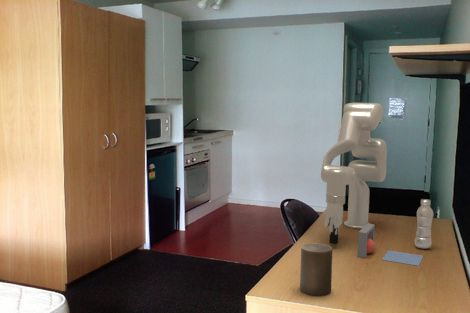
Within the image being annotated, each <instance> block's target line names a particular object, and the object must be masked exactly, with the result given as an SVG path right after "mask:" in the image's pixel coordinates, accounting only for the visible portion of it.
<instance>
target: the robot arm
mask: <svg viewBox="0 0 470 313" xmlns="http://www.w3.org/2000/svg"><path fill="white" fill-rule="evenodd" d="M383 116H384V107H383V106H382V104H380V103H377V102H349V103H346V104H344V106H343V115H342V118H341V122H340V123H341V124H340V129H339V134H338V139H337V142H336V143H335V144H333V145H332V147H330V148H329V149H328V151H326V153H325V155H324V157H323V161H322V165H321V170H320V178H321V180H322V182H324V183H326V195H325V202H326V207H325V208H326V209H325V218H324V227H325V228H329V229H328V231H329V244H331V245H338V244H339V232H340V226H342V224H344V226H345V227H347V228H352V229H360V230H361V229H362V228H363V227H364V226H365V225H366V224H372V223H370V221H369V210H370V206H369V205H370V187H369V186H368V184H367V183H366V182H374V183H375V182H376V183H382V182H384V181H385V180H386V176H387V158H388V157H387V156H388V147H387V143H386V141H385V140H384V139H382V138H372V137H371V132H373V131H374V130H376V128H377V127H378V126H379V124H380V122H381V121H382V119H383ZM348 152H351V154H352V156H353V157H355V158H357V159H356V160H351V161H350V162H349V164H348V166H342V165H334V164H333V165H332V163H333V161H334V159H335V158H337V157H339V156H340V155H343V154H345V153H348ZM358 158H360V159H358ZM361 159H363V160H361ZM364 159H370V160H364ZM372 160H373V161H372ZM346 186H348V200H347V201H348V202H347V207H348V208H347V220H345V221H344V222H343V218H344V205H345V204H346V190H347V189H346V188H347V187H346Z"/></svg>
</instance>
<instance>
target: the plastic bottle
mask: <svg viewBox="0 0 470 313" xmlns="http://www.w3.org/2000/svg"><path fill="white" fill-rule="evenodd" d="M431 203H432V202H431V199H428V198H427V199H425V198H421V199H420V206H419V207H418V209H417V211H416V220H417V221H416V223H417V225H416V226H417V227H416V233H415V238H414V244H415V247H416V248H419V249H426V250H427V249H430V248H431V247H432V223H433V218H434V211H433V209H432V208H431Z"/></svg>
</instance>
